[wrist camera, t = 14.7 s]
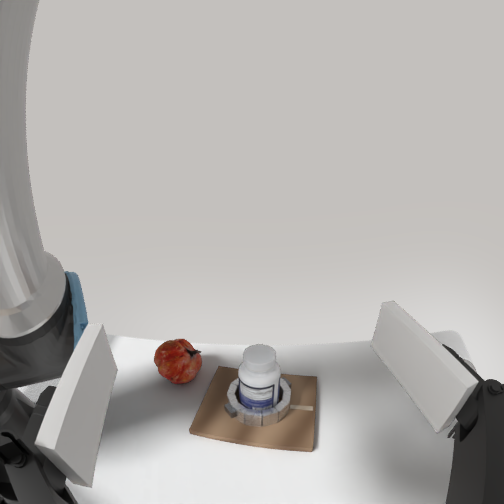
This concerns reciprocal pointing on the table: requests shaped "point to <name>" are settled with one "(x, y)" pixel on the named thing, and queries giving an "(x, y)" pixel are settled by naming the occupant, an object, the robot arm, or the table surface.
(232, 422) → the base plate
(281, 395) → the ring
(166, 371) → the pomegranate
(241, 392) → the pill bottle
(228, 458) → the table surface
